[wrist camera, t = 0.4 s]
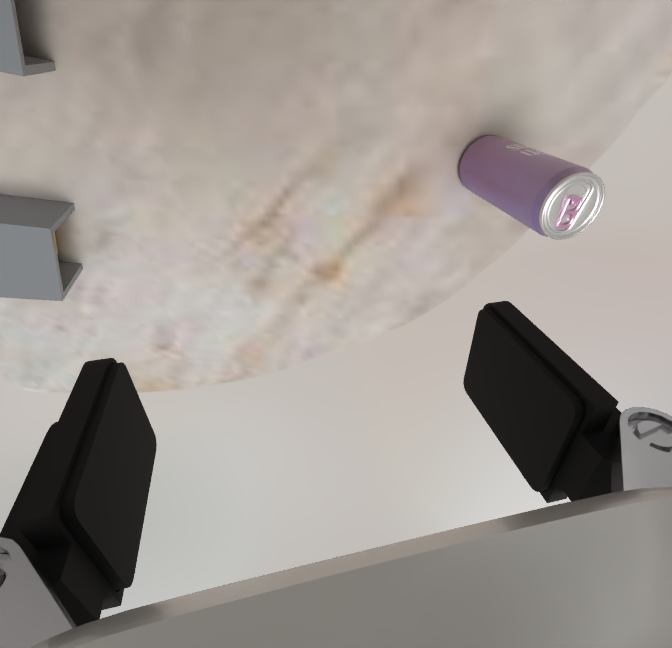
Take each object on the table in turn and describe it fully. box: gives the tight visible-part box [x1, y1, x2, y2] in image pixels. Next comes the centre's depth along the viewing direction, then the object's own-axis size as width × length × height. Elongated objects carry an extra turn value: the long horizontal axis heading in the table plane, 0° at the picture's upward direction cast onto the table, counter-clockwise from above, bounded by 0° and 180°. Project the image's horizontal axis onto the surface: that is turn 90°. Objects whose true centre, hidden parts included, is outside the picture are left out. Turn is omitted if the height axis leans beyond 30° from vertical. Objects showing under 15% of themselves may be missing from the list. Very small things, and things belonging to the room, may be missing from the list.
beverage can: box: [459, 135, 605, 240], centre depth 39 cm, size 6×6×15 cm
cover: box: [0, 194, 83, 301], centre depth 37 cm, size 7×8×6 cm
